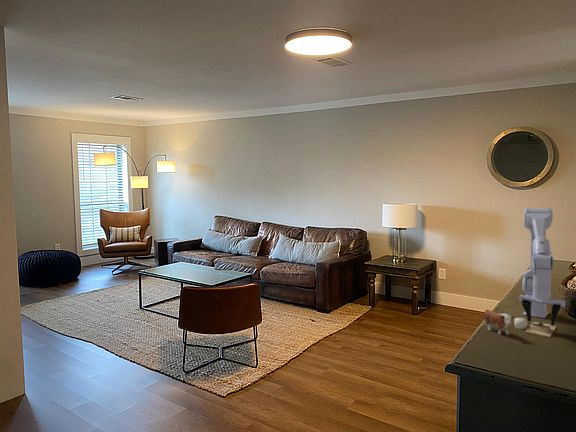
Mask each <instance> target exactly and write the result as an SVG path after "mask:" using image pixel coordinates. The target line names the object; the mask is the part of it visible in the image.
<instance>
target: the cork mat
mask: <svg viewBox="0 0 576 432" xmlns="http://www.w3.org/2000/svg"><path fill="white" fill-rule="evenodd" d="M534 322H535V321H534ZM534 322H531V324H529V326H527V329H525V330H524V334H527V335H528V334H529V335H533V336H539V337H544V338H549V339H550V338H551V337H552V335H553V333H554V332H555V330H556V329H557V327H558V326H557V325H551V324H550V325H551V328H550V330H549V332H542V331H536V330H531V325H532V324H533V323H534Z"/></svg>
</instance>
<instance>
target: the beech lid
mask: <svg viewBox="0 0 576 432" xmlns="http://www.w3.org/2000/svg"><path fill="white" fill-rule="evenodd" d="M532 323H533V322H532ZM532 323H531V324H532ZM531 324H530V325H531ZM550 328H551V324H549V323H542V322H536V321H534V323H533V324H532V325H531V330H536V331H542V332H549V330H550Z"/></svg>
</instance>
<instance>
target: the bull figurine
mask: <svg viewBox="0 0 576 432" xmlns="http://www.w3.org/2000/svg"><path fill="white" fill-rule="evenodd" d="M483 317H484V318H483V319H484V320H483V321H484V325H485V326H486V327H487V330H488V331H489V332H492V329H493V326H492V325H494V327H496V326H498V331H497V333H498V335H499V336H500V335H502V329H504V330H505V334H506V336H510V332H509V331H508V327H509V325H511V324H512V319H515V316H514V315H513V316H511V315H510V314H507V313H499V312H495V311H493V310H491V309H485V311H484V312H483Z"/></svg>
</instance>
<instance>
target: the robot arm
mask: <svg viewBox="0 0 576 432" xmlns="http://www.w3.org/2000/svg"><path fill="white" fill-rule="evenodd" d="M553 215H554V213H553V209H551V208H527V207H525V208H524V210H523V225H524V228H525V229H527V230H529V233H530V261H529V262H530V267H529V269H528V270H526V271H524V272H523V274H522V281H521V283H522V286H521V288H522V291H523V292H525V294H520V295H519V299H518V300H519V302H521V305H522V307H523V309H524V312H523V313H522V315H523V316H526V317H527V320H528V322H531V321H532V317H535V318H543V319H545V318H546V317H547V315H548V314H549V313H550V311H547V305H549V306H550V305H551V320H550V321H551V322H550V325H553V326H555V322H556V319H557V316H558V314H559V312H560V310H561V308H565V306H566V301H565V300H562V299H557V298H554V297H553V298H552V296H551V294H552V292H551V291H552V271H553V268H554V256H553V253H552V252H551V246H550V245H551V244H550V243H551V242H550V240H549V239H547V237H546V236H547V233H546V232H547V230H548V229H550V227H551V225H552V223H553V218H554V217H553Z"/></svg>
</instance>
